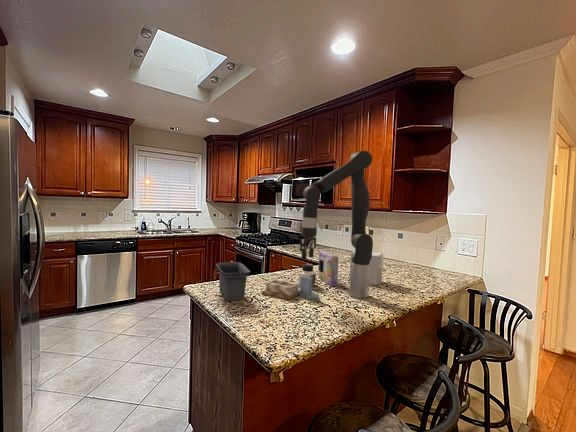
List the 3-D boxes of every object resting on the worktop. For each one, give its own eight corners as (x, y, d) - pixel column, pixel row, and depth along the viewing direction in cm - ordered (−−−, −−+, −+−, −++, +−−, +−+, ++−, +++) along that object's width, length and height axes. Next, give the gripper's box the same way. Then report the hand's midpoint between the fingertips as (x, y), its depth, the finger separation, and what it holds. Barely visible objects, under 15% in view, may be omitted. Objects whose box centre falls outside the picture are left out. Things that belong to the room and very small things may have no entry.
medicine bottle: (309, 287, 165) (310, 266, 164) (298, 285, 169) (299, 264, 168) (315, 285, 171) (316, 264, 171) (304, 282, 175) (305, 262, 174)
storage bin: (251, 301, 139) (252, 271, 138) (218, 304, 133) (219, 273, 132) (239, 288, 158) (240, 261, 158) (209, 290, 152) (210, 263, 151)
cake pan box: (316, 277, 187) (318, 250, 186) (324, 277, 189) (325, 250, 188) (330, 286, 169) (331, 256, 168) (337, 286, 171) (339, 256, 170)
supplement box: (382, 281, 187) (384, 253, 186) (376, 286, 176) (378, 256, 175) (355, 276, 196) (357, 249, 195) (348, 280, 185) (350, 252, 184)
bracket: (318, 298, 148) (319, 278, 147) (316, 300, 145) (317, 280, 144) (302, 294, 152) (303, 275, 152) (299, 296, 149) (300, 277, 149)
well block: (301, 293, 155) (302, 282, 155) (289, 300, 143) (289, 289, 142) (275, 287, 162) (276, 277, 162) (261, 294, 150) (262, 283, 150)
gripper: (310, 228, 140) (308, 262, 140) (321, 226, 152) (319, 257, 153) (296, 226, 143) (294, 259, 144) (308, 225, 156) (306, 255, 157)
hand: (307, 258), depth 148 cm, fingers open, 8 cm apart
